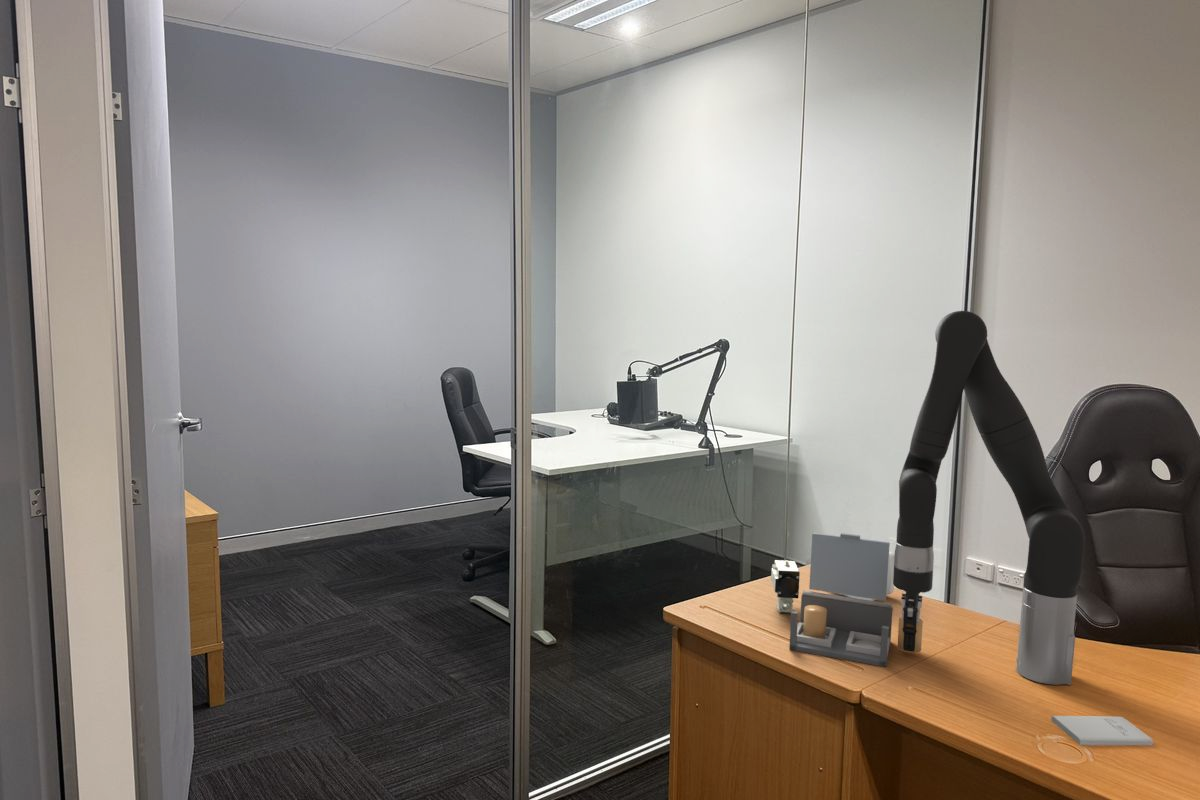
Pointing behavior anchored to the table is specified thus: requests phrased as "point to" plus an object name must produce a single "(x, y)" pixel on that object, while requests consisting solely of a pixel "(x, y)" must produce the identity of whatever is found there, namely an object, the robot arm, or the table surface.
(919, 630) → the beige rounded cylinder
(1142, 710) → the table surface
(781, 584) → the pneumatic valve
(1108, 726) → the external hard drive
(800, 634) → the housing
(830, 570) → the lid
